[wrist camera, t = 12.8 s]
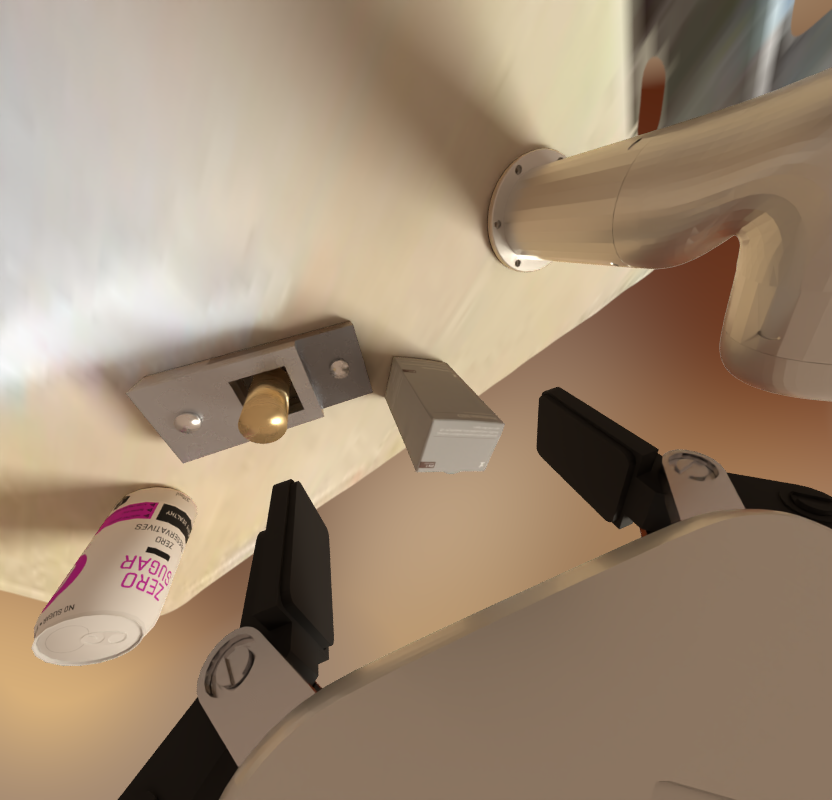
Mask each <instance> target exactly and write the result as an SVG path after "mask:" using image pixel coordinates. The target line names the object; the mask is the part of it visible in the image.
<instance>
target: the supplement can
mask: <svg viewBox="0 0 832 800" xmlns="http://www.w3.org/2000/svg"><path fill="white" fill-rule="evenodd" d="M196 516H197V506H196V504H195V503H194V501H193V500H192V498H190V497H189V496H187V495H185V494H184V493H182V492H181V491H178V490H175V489H171V488H163V487H154V488H147V489H140V490H137V491H135V492H132V493H130V494H127V495H126V496H125V497H123V498H122V499H121V500H120V501H119V502H118V503H117V504H116V506H115V507H114V509H113V510H112V511H111V513H110V514H109V516H108V517H107V519H106V520H105V522H104V523H103V524H102V526H101V527H100V529H99V530H98V532H97V533H96V535H95V536H94V537H93V539H92V540H91V542H90V543H89V545H88V546H87V548H86V549H85V550H84V552H83V553H82V555H81V556H80V558H79V559H78V561H77V562H76V564H75V565H74V566H73V568H72V569H71V571H70V572H69V574H68V575H67V577H66V578H65V579H64V581H63V582H62V584H61V585H60V587H59V588H58V590H57V591H56V592H55V594H54V595H53V597H52V598H51V600H50V601H49V603H48V604H47V605H46V607H45V608H44V610H43V611H42V613H41V614H40V616H39V617H38V620H37V622H36V625H35V627H34V643H33V646H32V650H33V652H34V654H35V656H36V657H38V658H40V659H41V660H43V661H45V662H47V663H52V664H57V665H62V666H81V665H89V664H96V663H101V662H104V661H108V660H111V659H114V658H117V657H119V656H121V655H123V654H125V653H127V652H129V651H131V650H132V649H133V648H134V647H136V646H137V645H138V644H139V643H140V642H141V640H142V638H143V637H144V636H145V635H146V634H147V633H148V632H149V631H150V630H151V629H152V628H153V627H154V625H155V623H156V621H157V619H158V618H159V616H160V613H161V610H162V608H163V605H164V602H165V600H166V597H167V594H168V592H169V589H170V586H171V584H172V581H173V578H174V575H175V573H176V570H177V567H178V565H179V562H180V559H181V557H182V554H183V551H184V549H185V546H186V543H187V540H188V538H189V535H190V532H191V530H192V527H193V524H194V522H195V519H196Z"/></svg>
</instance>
